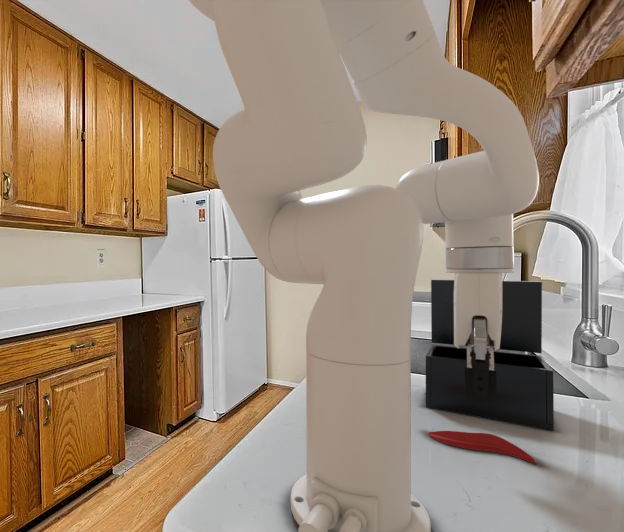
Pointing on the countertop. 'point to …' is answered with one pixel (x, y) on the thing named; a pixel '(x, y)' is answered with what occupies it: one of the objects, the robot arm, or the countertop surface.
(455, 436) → the cayenne pepper
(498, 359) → the bin
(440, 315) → the bin lid
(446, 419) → the countertop surface
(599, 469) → the countertop surface
